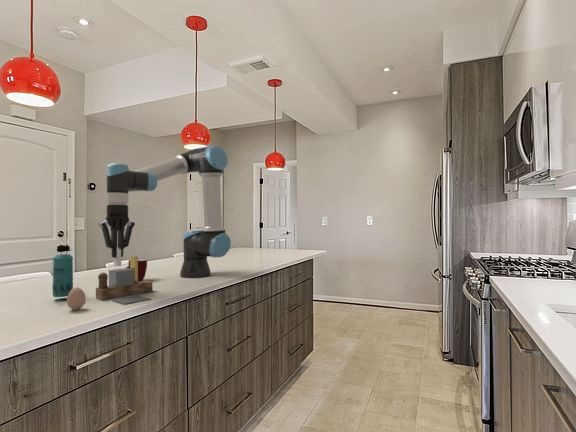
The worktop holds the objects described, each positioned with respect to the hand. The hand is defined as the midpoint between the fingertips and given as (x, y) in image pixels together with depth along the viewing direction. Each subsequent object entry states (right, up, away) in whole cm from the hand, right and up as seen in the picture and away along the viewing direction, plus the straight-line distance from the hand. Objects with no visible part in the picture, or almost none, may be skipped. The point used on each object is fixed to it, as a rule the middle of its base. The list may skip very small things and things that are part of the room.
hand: (117, 265), depth 137 cm
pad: (+8, -12, -6) cm, 16 cm away
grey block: (+1, -8, +1) cm, 8 cm away
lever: (+4, -7, +5) cm, 10 cm away
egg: (-4, -12, -20) cm, 23 cm away
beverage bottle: (-18, -12, -5) cm, 22 cm away
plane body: (+2, -12, +2) cm, 12 cm away
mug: (-6, -12, +31) cm, 33 cm away
